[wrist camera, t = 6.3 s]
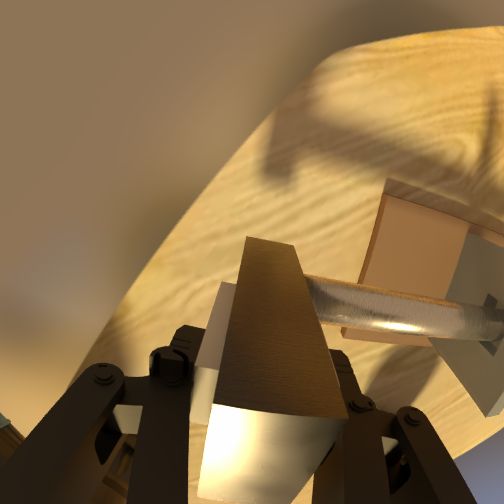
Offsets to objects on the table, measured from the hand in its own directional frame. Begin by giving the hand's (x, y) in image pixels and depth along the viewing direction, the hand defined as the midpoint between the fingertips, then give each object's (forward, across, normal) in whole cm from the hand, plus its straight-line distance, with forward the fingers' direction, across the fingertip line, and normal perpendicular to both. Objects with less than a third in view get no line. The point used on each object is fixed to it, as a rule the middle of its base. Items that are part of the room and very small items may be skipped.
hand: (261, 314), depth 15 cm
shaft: (+5, +12, 0) cm, 13 cm away
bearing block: (+12, +22, 0) cm, 26 cm away
